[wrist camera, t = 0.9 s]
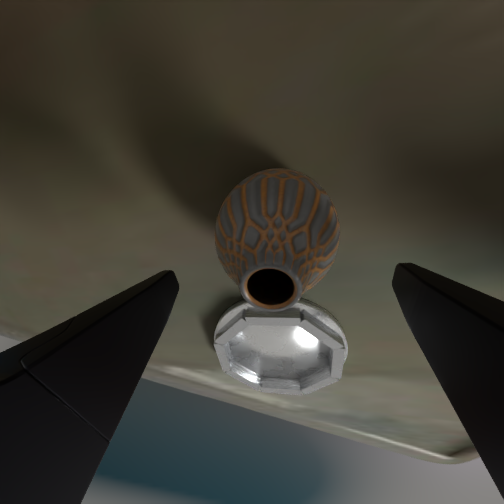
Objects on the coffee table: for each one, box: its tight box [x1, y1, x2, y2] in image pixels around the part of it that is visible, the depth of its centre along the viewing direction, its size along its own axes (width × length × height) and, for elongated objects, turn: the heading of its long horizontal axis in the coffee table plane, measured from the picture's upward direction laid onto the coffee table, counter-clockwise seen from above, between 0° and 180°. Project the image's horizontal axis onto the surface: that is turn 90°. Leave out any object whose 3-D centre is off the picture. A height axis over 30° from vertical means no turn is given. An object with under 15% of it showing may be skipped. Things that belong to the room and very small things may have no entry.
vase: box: [215, 168, 340, 312], centre depth 11 cm, size 7×7×9 cm
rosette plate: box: [214, 298, 348, 395], centre depth 22 cm, size 14×14×2 cm
